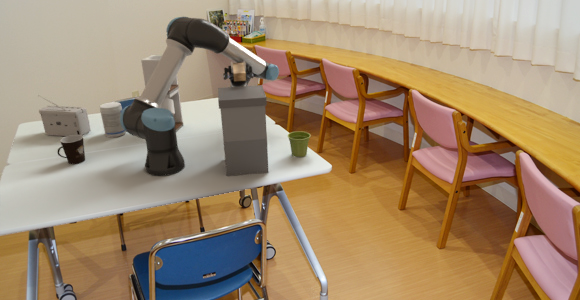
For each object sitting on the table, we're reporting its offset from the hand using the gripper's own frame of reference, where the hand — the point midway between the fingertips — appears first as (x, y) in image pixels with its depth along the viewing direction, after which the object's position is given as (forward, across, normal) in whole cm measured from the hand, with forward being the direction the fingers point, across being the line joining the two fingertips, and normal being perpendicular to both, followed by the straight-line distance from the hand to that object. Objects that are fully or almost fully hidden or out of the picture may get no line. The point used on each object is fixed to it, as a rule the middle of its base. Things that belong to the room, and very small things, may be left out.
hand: (238, 64), depth 185 cm
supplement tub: (-41, +60, -18) cm, 75 cm away
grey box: (+1, 0, -42) cm, 42 cm away
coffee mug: (-15, +71, -33) cm, 80 cm away
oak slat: (+1, 0, -5) cm, 5 cm away
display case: (-42, +36, -17) cm, 58 cm away
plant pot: (-5, -22, -39) cm, 45 cm away
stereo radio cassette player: (-45, +83, -16) cm, 96 cm away
